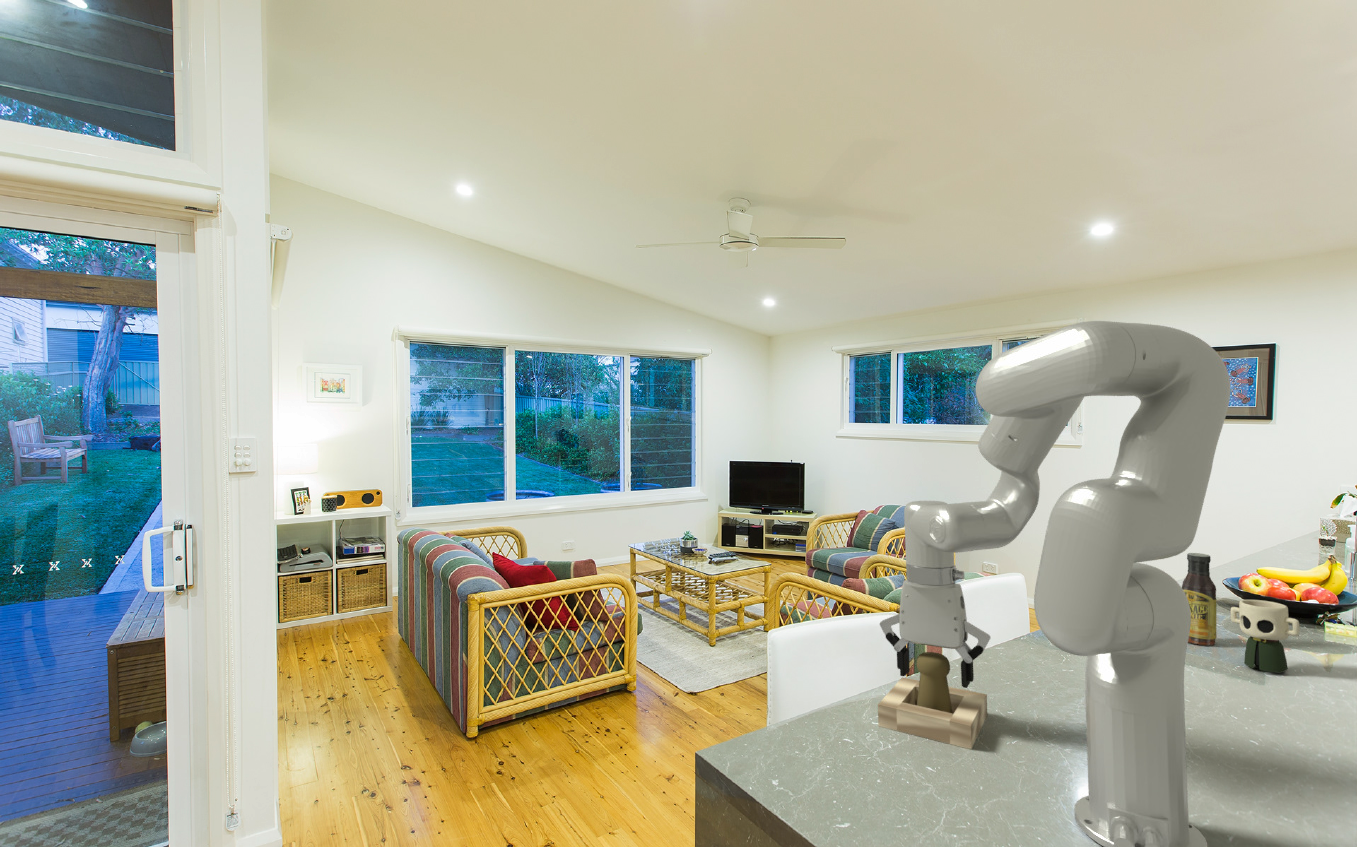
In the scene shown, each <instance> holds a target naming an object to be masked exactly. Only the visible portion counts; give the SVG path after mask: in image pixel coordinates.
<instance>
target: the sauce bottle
mask: <svg viewBox="0 0 1357 847" xmlns="http://www.w3.org/2000/svg"><path fill="white" fill-rule="evenodd" d="M1186 556H1187V557H1186V559H1187V574H1186V576H1185V578H1184V579H1183V581H1182V585H1181V588H1182V589H1183V591H1184V593H1185V594H1186V597H1187V599H1188V602H1189V606H1190V612H1191V625H1190V633H1189V639H1188V644H1193V645H1197V644H1198V646H1206V647H1207V646H1215V644H1216V639H1217V638H1218V637H1217V606H1218V605H1217V600H1218V599H1217V588H1216V587H1217V586H1216V585H1215V583H1214V582H1213V580H1212V579H1211V576H1210V575H1211V574H1210V573H1211V572H1210V563H1211V560H1212V559H1211V555H1209V554H1206V553H1200V552H1199V553H1197V552H1188V553H1187V555H1186Z"/></svg>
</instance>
